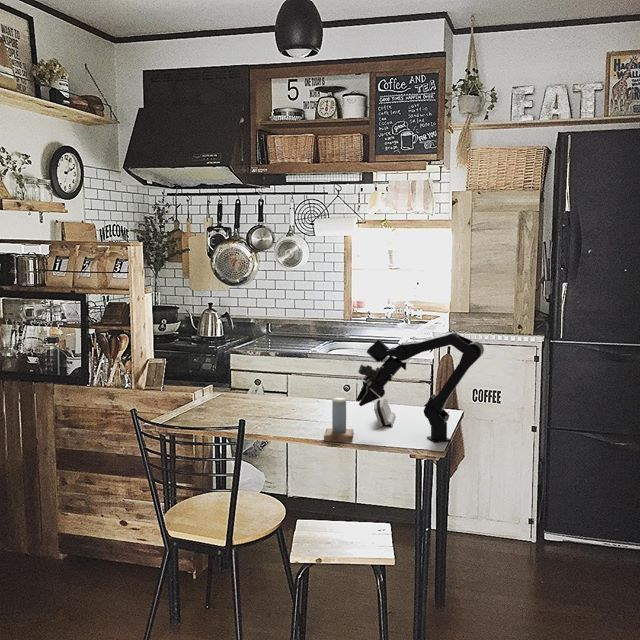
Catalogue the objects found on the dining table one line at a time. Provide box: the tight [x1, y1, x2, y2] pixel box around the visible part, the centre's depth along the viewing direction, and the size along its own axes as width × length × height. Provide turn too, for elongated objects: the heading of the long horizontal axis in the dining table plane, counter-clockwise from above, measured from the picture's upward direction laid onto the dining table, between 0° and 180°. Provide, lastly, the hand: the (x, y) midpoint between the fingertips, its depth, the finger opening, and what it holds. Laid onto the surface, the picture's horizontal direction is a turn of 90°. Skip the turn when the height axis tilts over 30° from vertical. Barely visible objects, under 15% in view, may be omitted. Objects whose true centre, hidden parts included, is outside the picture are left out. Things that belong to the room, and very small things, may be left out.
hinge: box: [373, 397, 397, 428], centre depth 303 cm, size 17×5×10 cm, turn 170°
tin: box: [331, 397, 347, 434], centre depth 279 cm, size 5×5×12 cm
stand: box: [323, 428, 354, 443], centre depth 280 cm, size 10×10×2 cm
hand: (358, 403), depth 280 cm, fingers open, 9 cm apart
